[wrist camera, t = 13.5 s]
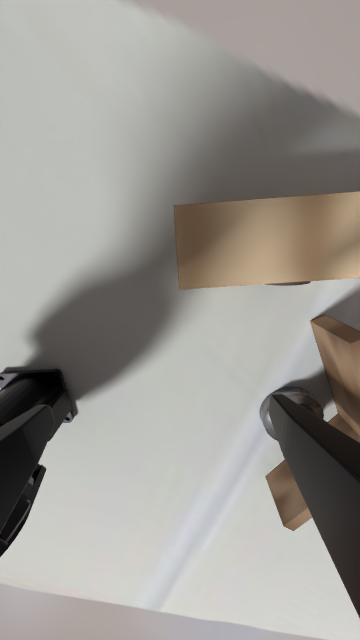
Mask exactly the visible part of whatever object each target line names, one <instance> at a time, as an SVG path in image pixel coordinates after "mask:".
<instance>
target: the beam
mask: <svg viewBox="0 0 360 640" xmlns="http://www.w3.org/2000/svg"><path fill="white" fill-rule="evenodd" d="M174 217H175V232H176V247H177V262H178V277H179V289H194V288H210V287H225V286H241V285H257V284H267V285H284V286H285V285H302V284H308V283H310V282H311V281H319V280H334V279H350V278H360V192H346V193H333V194H320V195H307V196H293V197H280V198H267V199H253V200H240V201H227V202H213V203H200V204H187V205H174Z"/></svg>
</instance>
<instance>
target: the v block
mask: <svg viewBox="0 0 360 640" xmlns="http://www.w3.org/2000/svg"><path fill="white" fill-rule="evenodd" d="M310 322H311V325H312V329H313V332H314V335H315V339H316V342H317V345H318V349H319V352H320V355H321V358H322V362H323V365H324V368H325V372H326V375H327V378H328V381H329V385H330V388H331V391H332V395H333V398H334V401H335V404H336V408H337V411H338V414H337V415H336V416H335V417H334V418H333V419H331V420H330V421H329V422H328V423H329V424H331V425H332V426H334V427H336V428H337V429H339V430H340V431H342V432H343V433H345V434H347V435H348V436H350V437H351V438H353V439H355V440H356V441H358V442H359V443H360V331H358V330H356V329H354V328H352V327H350V326H348V325H345V324H343V323H341V322H339V321H337V320H335V319H333V318H330V317H328V316H326V315H324V316H321V317H319V318H316V319H314V320H312V321H310ZM266 480H267V482H268V485H269V488H270V490H271V493H272V496H273V499H274V501H275V504H276V507H277V509H278V512H279V515H280V518H281V520H282V523H283V526H284V527H286V528H288V529H290V530H293V531H294V530H296V529H297V528H298V527H300V526H301V525H302V524H304V523H305V522H307V521H308V520H309V519H311V518H312V516H311V513H310V511H309V509H308V507H307V505H306V503H305V501H304V499H303V496H302V494H301V492H300V490H299V488H298V486H297V484H296V482H295V479H294V477H293V475H292V473H291V471H290V469H289V467H288V464H287V462H286V460H284V461H283V462H282V463H281V464H280V465H279V466H277V467H276V468H275V469H274V470H273V471H272V472H270V473H269V474H268V475H267V476H266Z"/></svg>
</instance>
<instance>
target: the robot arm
mask: <svg viewBox="0 0 360 640" xmlns="http://www.w3.org/2000/svg"><path fill="white" fill-rule="evenodd" d="M54 373H55V374H57V375H55V374H54ZM3 377H4V378H3ZM0 388H1V390H0V557H1V556H2V555H3V553H4V552H5V551H6V550H7V549H8V547H9V546H10V545H11V544H12V542H13V541H14V540H15V538H16V537H17V535H18V534H19V532H20V531H21V529H22V527H23V525H24V524H25V522H26V520H27V518H28V515H29V513H30V510H31V508H32V505H33V503H34V500H35V497H36V495H37V492H38V490H39V487H40V484H41V482H42V479H43V477H44V474H45V472H46V468H45V467H44V466H43V465H39V464H38V462H39V460H40V458H41V455H42V453H43V451H44V449H45V446H46V444H47V442H48V441H50V440H51V438H52V437H53V436H54V434H55V433H56V431H57V430H58V428H59V427H60V425H61V424H62V423H69V422H71V421H72V420H73V418H74V415H73V411H72V406H71V402H70V399H69V395H68V392H67V389H66V387H65V383H64V379H63V376H62V373H61V371H60V370H58V369H50V370H32V371H14V372H2V373H0ZM269 416H270V419H271V422H272V425H273V428H274V430H275V433H276V436H277V439H278V442H279V445H280V447H281V450H282V453H283V456H284V458H285V460H286V462H287V464H288V467H289V469H290V471H291V473H292V475H293V477H294V479H295V482H296V484H297V486H298V488H299V490H300V492H301V494H302V496H303V499H304V501H305V503H306V505H307V507H308V509H309V511H310V513H311V516H312V518H313V520H314V522H315V524H316V526H317V528H318V530H319V533H320V535H321V537H322V539H323V541H324V543H325V545H326V547H327V550H328V552H329V554H330V556H331V558H332V560H333V562H334V564H335V567H336V569H337V571H338V573H339V575H340V577H341V579H342V581H343V584H344V586H345V588H346V590H347V592H348V594H349V596H350V598H351V601H352V603H353V605H354V607H355V609H356V611H357V613H358V615H359V618H360V443H359V442H358V441H356V440H355V439H353V438H351V437H350V436H348V435H347V434H345V433H343V432H342V431H340V430H339V429H337V428H336V427H334V426H332V425H331V424H329V423H328V422H326V421H324V420H323V419H321V418H320V417H318V416H316V415H315V414H313V413H312V412H310V411H309V410H307V409H305V408H304V407H302V406H301V405H299V404H297V403H296V402H294V401H293V400H291V399H289V398H288V397H286V396H285V395H283V394H280V393H279V394H271V395H270V401H269ZM68 417H69V418H68Z"/></svg>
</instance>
